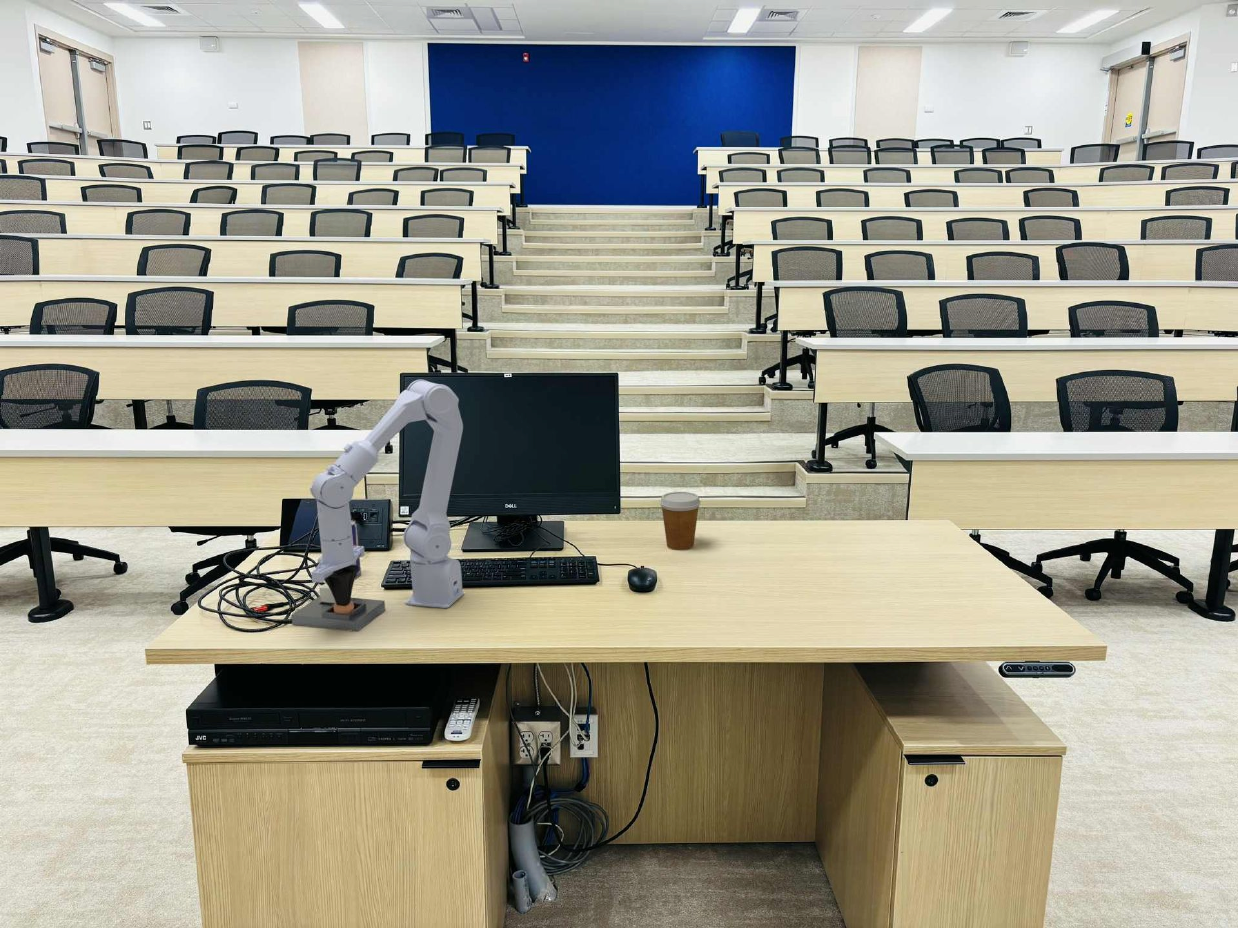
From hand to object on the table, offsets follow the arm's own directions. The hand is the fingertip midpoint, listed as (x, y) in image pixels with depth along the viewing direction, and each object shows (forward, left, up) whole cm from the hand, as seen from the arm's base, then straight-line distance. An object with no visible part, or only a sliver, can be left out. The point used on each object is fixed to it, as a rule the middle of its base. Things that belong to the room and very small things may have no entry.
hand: (343, 604), depth 164 cm
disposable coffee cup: (-54, -56, -4) cm, 78 cm away
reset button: (0, 0, -3) cm, 3 cm away
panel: (+2, -2, -4) cm, 5 cm away
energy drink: (+13, -22, -4) cm, 26 cm away
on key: (+5, -4, -1) cm, 7 cm away
